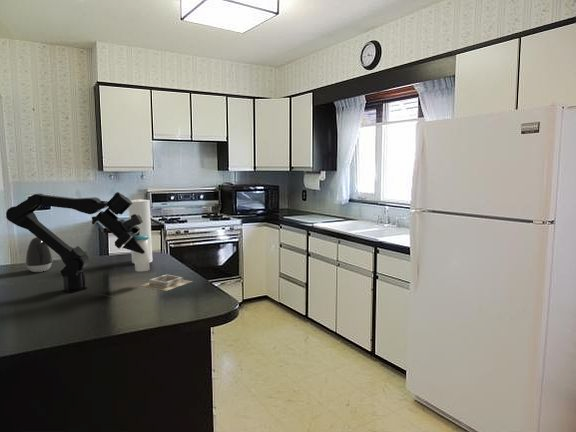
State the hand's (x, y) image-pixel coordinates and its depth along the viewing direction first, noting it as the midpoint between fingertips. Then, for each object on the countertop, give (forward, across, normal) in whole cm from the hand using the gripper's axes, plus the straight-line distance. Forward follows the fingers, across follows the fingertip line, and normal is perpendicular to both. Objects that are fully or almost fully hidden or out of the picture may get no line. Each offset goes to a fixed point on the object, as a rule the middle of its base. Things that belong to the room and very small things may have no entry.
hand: (145, 251), depth 157 cm
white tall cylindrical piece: (+4, 0, +6) cm, 7 cm away
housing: (+15, 0, +4) cm, 15 cm away
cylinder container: (+3, +43, +16) cm, 46 cm away
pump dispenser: (-26, +33, +46) cm, 62 cm away
